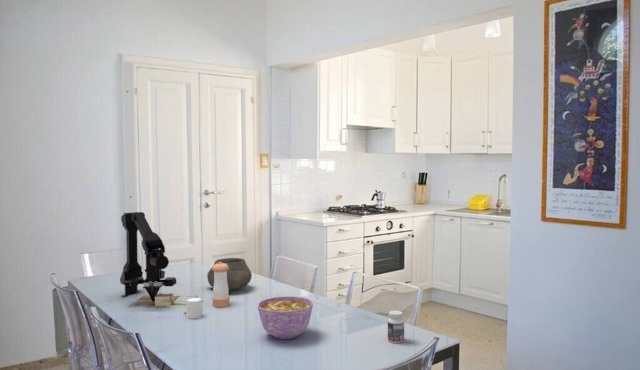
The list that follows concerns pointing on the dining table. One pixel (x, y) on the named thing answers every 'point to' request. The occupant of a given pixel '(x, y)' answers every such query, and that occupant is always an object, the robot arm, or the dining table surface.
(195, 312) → the white cylinder
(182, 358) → the dining table surface
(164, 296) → the birch block
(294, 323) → the bowl of food
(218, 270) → the salt shaker
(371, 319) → the dining table surface
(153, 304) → the trap deck
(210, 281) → the clay pot
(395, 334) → the pill bottle
